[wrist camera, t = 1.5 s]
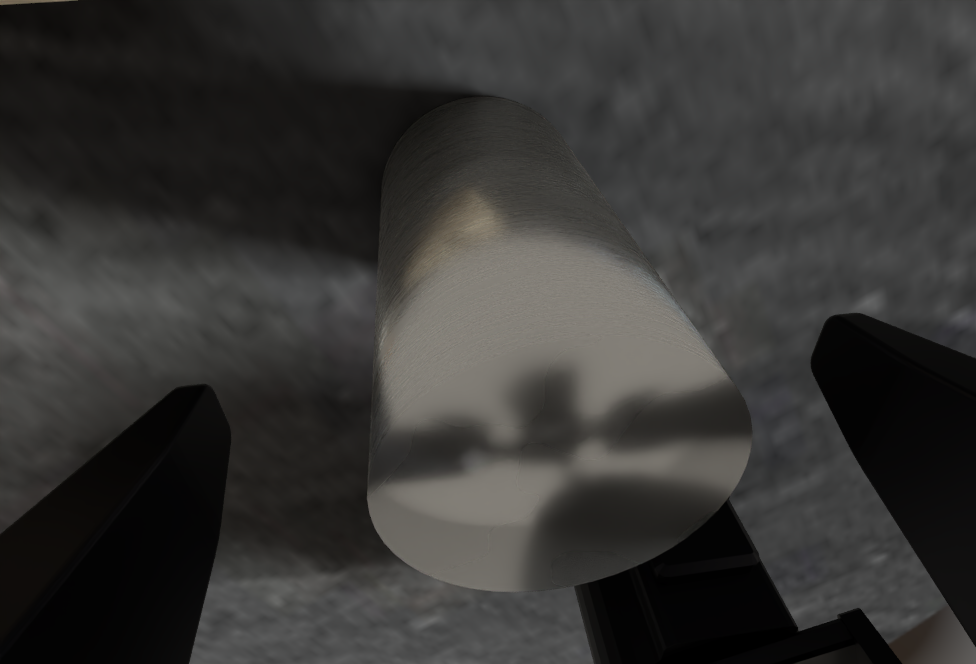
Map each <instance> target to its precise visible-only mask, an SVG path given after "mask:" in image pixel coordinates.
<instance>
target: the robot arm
mask: <svg viewBox="0 0 976 664" xmlns="http://www.w3.org/2000/svg"><path fill="white" fill-rule="evenodd" d="M811 369H812V373H813V375H814V377H815V379H816V381H817V383H818V385H819V387H820V389H821V391H822V393H823V395H824V397H825V399H826V401H827V403H828V405H829V407H830V409H831V411H832V413H833V415H834V417H835V419H836V421H837V423H838V425H839V427H840V429H841V431H842V433H843V435H844V437H845V439H846V441H847V443H848V445H849V447H850V449H851V451H852V453H853V454H854V456H855V458H856V460H857V461H858V463H859V465H860V466H861V468H862V470H863V471H864V473H865V475H866V476H867V478H868V479H869V481H870V482H871V484H872V486H873V487H874V489H875V490H876V492H877V493H878V495H879V496H880V498H881V500H882V501H883V503H884V504H885V506H886V507H887V509H888V511H889V512H890V514H891V515H892V517H893V518H894V520H895V522H896V523H897V525H898V526H899V528H900V529H901V531H902V532H903V534H904V536H905V537H906V539H907V540H908V542H909V543H910V545H911V547H912V548H913V550H914V551H915V553H916V554H917V556H918V558H919V559H920V561H921V562H922V564H923V565H924V567H925V568H926V570H927V572H928V573H929V575H930V576H931V578H932V579H933V581H934V583H935V584H936V586H937V587H938V589H939V590H940V592H941V594H942V595H943V597H944V598H945V600H946V601H947V603H948V604H949V606H950V607H951V609H952V611H953V612H954V614H955V615H956V617H957V619H958V620H959V622H960V623H961V625H962V626H963V628H964V630H965V631H966V633H967V634H968V636H969V637H970V639H971V640H972V642H973V644H974V645H975V647H976V358H973V357H971V356H968V355H966V354H963V353H961V352H958V351H956V350H953V349H950V348H948V347H945V346H943V345H940V344H938V343H935V342H933V341H930V340H928V339H925V338H923V337H920V336H917V335H915V334H912V333H910V332H907V331H905V330H902V329H900V328H897V327H895V326H892V325H890V324H887V323H884V322H882V321H879V320H877V319H874V318H872V317H869V316H867V315H864V314H861V313H849V314H839V315H834V316H831V317H829V318H828V319H827V320H826V322H825V323H824V326H823V328H822V331H821V333H820V336H819V338H818V341H817V343H816V346H815V348H814V351H813V354H812V356H811ZM230 445H231V431H230V426H229V423H228V421H227V419H226V416H225V414H224V412H223V410H222V408H221V405H220V403H219V401H218V399H217V396H216V394H215V392H214V390H213V389H212V388H211V386H209V385H207V384H197V385H188V386H181V387H177V388H175V389H174V390H172V391H171V392H170V393H169V394H168V395H166V396H165V397H164V398H163V399H162V400H160V401H159V402H158V403H157V404H156V405H154V406H153V407H152V408H151V409H150V410H148V411H147V412H146V413H145V414H144V415H142V416H141V417H140V418H139V419H138V420H136V421H135V422H134V423H133V424H132V425H130V426H129V427H128V428H127V429H126V430H124V431H123V432H122V433H121V434H120V435H118V436H117V437H116V438H115V439H114V440H113V441H111V442H110V443H109V444H108V445H107V446H105V447H104V448H103V449H102V450H101V451H99V452H98V453H97V454H96V455H95V456H93V457H92V458H91V459H90V460H89V461H87V462H86V463H85V464H84V465H83V466H81V467H80V468H79V469H78V470H77V471H75V472H74V473H73V474H72V475H71V476H69V477H68V478H67V479H66V480H65V481H63V482H62V483H61V484H60V485H59V486H58V487H56V488H55V489H54V490H53V491H52V492H50V493H49V494H48V495H47V496H46V497H44V498H43V499H42V500H41V501H40V502H38V503H37V504H36V505H35V506H34V507H32V508H31V509H30V510H29V511H28V512H26V513H25V514H24V515H23V516H22V517H20V518H19V519H18V520H17V521H16V522H14V523H13V524H12V525H11V526H10V527H8V528H7V529H6V530H5V531H4V532H2V533H1V534H0V664H189V662H190V657H191V653H192V649H193V645H194V641H195V637H196V633H197V629H198V625H199V621H200V617H201V612H202V608H203V604H204V600H205V596H206V592H207V588H208V584H209V580H210V576H211V571H212V567H213V563H214V559H215V555H216V550H217V545H218V541H219V534H220V528H221V520H222V512H223V504H224V495H225V487H226V479H227V470H228V462H229V454H230ZM729 497H730V496H729ZM729 497H728V499H727V500H726V501H725V502H724V504H723V505H722V506H721V507H720V508H719V510H718V511H717V512H716V513H715V514H714V515H713V516H712V517H711V518H710V519H709V520H708V521H707V522H706V523H704V524H703V525H702V526H701V527H700V528H698V529H697V530H696V531H695V532H693V533H692V534H691V535H690V536H688V537H687V538H685V539H684V540H682V541H681V542H680V543H678V544H677V545H675V546H674V547H672V548H670V549H669V550H667V551H665V552H663V553H662V554H660V555H658V556H656V557H655V558H652V559H650V560H648V561H646V562H644V563H642V564H640V565H638V566H636V567H633V568H631V569H628V570H626V571H623V572H620V573H618V574H615V575H612V576H609V577H606V578H603V579H599V580H596V581H592V582H588V583H584V584H580V585H576V586H574V588H575V592H576V596H577V600H578V603H579V607H580V611H581V615H582V619H583V623H584V627H585V630H586V634H587V638H588V642H589V646H590V650H591V654H592V657H593V661H594V664H902V663H901V662H900V660H899V659H898V658H897V656H896V655H895V654H894V652H893V651H892V650H891V649H890V647H889V646H888V644H887V643H886V642H885V640H884V639H883V638H882V637H881V635H880V634H879V633H878V631H877V630H876V629H875V627H874V626H873V625H872V623H871V622H870V621H869V619H868V618H867V617H866V615H865V614H864V613H863V612H862V610H861V609H860V608H856V609H853V610H850V611H847V612H844V613H841V614H838V615H837V616H838V619H836V620H833V621H830V622H827V623H824V624H821V625H818V626H814V627H811V628H808V629H805V630H802V631H798V627H797V625H796V623H795V621H794V619H793V618H792V616H791V614H790V612H789V610H788V608H787V607H786V605H785V603H784V601H783V599H782V598H781V596H780V594H779V592H778V590H777V589H776V587H775V585H774V583H773V581H772V579H771V578H770V576H769V574H768V572H767V570H766V569H765V567H764V565H763V563H762V561H761V559H760V557H759V553H758V551H757V550H756V548H755V546H754V544H753V542H752V540H751V539H750V537H749V535H748V533H747V531H746V530H745V528H744V526H743V524H742V522H741V521H740V519H739V517H738V515H737V513H736V512H735V510H734V508H733V506H732V504H731V503H730V501H729Z"/></svg>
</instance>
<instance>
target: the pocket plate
mask: <svg viewBox="0 0 976 664" xmlns="http://www.w3.org/2000/svg"><path fill="white" fill-rule="evenodd" d="M58 1H76V0H0V5H6V4H23V3H41V2H58Z"/></svg>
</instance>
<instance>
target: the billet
mask: <svg viewBox="0 0 976 664" xmlns="http://www.w3.org/2000/svg"><path fill="white" fill-rule="evenodd" d="M751 444H752V425H751V417H750V414H749V411H748V408H747V405H746V402H745V400H744V398H743V397H742V395H741V394H740V392H739V390H738V389H737V387H736V386H735V384H734V383H733V381H732V380H731V378H730V377H729V376H728V374H727V373H726V371H725V370H724V368H723V367H722V365H721V364H720V363H719V361H718V360H717V358H716V357H715V355H714V354H713V353H712V351H711V350H710V348H709V347H708V345H707V344H706V343H705V341H704V340H703V338H702V337H701V335H700V334H699V333H698V331H697V330H696V328H695V327H694V325H693V324H692V322H691V321H690V320H689V318H688V317H687V315H686V314H685V312H684V311H683V310H682V308H681V307H680V305H679V304H678V302H677V301H676V300H675V298H674V297H673V295H672V294H671V292H670V291H669V289H668V288H667V287H666V285H665V284H664V282H663V281H662V279H661V278H660V277H659V275H658V274H657V272H656V271H655V269H654V268H653V267H652V265H651V264H650V262H649V261H648V259H647V258H646V257H645V255H644V254H643V252H642V251H641V249H640V248H639V246H638V245H637V244H636V242H635V241H634V239H633V238H632V236H631V235H630V234H629V232H628V231H627V229H626V228H625V226H624V225H623V224H622V222H621V221H620V219H619V218H618V216H617V215H616V214H615V212H614V211H613V209H612V208H611V206H610V205H609V203H608V202H607V201H606V199H605V198H604V196H603V195H602V193H601V192H600V191H599V189H598V188H597V186H596V185H595V183H594V182H593V181H592V179H591V178H590V176H589V175H588V173H587V172H586V171H585V169H584V168H583V166H582V165H581V163H580V162H579V160H578V159H577V158H576V156H575V155H574V153H573V152H572V150H571V149H570V148H569V146H568V145H567V143H566V142H565V140H564V139H563V138H562V136H561V135H560V133H559V132H558V131H557V130H556V129H555V127H554V126H553V125H552V124H551V123H550V122H549V121H548V120H546V119H545V118H544V117H543V116H542V115H541V114H539V113H537V112H536V111H534V110H533V109H531V108H529V107H527V106H525V105H522V104H520V103H518V102H515V101H511V100H508V99H504V98H497V97H470V98H463V99H459V100H455V101H452V102H448V103H446V104H444V105H441V106H439V107H437V108H435V109H433V110H431V111H430V112H428V113H427V114H425V115H423V116H422V117H421V118H419V119H418V120H417V121H416V122H415V123H413V124H412V125H411V126H410V127H409V128H408V129H407V131H406V132H405V133H404V134H403V135H402V136H401V138H400V139H399V141H398V142H397V143H396V145H395V146H394V148H393V150H392V152H391V154H390V156H389V158H388V161H387V164H386V167H385V170H384V174H383V179H382V189H381V210H380V232H379V253H378V274H377V296H376V317H375V339H374V360H373V382H372V403H371V425H370V446H369V468H368V489H367V501H368V507H369V514H370V517H371V519H372V522H373V525H374V527H375V530H376V531H377V533H378V534H379V536H380V537H381V539H382V540H383V542H384V543H385V544H386V545H387V546H388V548H389V549H390V550H391V551H392V552H393V553H394V554H395V555H396V556H398V557H399V558H400V559H401V560H403V561H404V562H405V563H407V564H408V565H410V566H411V567H413V568H415V569H417V570H418V571H420V572H422V573H424V574H426V575H428V576H431V577H433V578H436V579H438V580H441V581H444V582H447V583H451V584H454V585H457V586H462V587H467V588H472V589H478V590H487V591H497V592H530V591H543V590H552V589H559V588H565V587H570V586H576V585H580V584H584V583H588V582H592V581H596V580H599V579H603V578H606V577H609V576H612V575H615V574H618V573H620V572H623V571H626V570H628V569H631V568H633V567H636V566H638V565H640V564H642V563H644V562H646V561H648V560H650V559H652V558H655V557H656V556H658V555H660V554H662V553H663V552H665V551H667V550H669V549H670V548H672V547H674V546H675V545H677V544H678V543H680V542H681V541H682V540H684V539H685V538H687V537H688V536H690V535H691V534H692V533H693V532H695V531H696V530H697V529H698V528H700V527H701V526H702V525H703V524H704V523H706V522H707V521H708V520H709V519H710V518H711V517H712V516H713V515H714V514H715V513H716V512H717V511H718V510H719V508H720V507H721V506H722V505H723V504H724V502H725V501H726V500H727V499H728V497H729V496H730V495H731V493H732V492H733V490H734V489H735V487H736V485H737V484H738V482H739V481H740V479H741V476H742V474H743V472H744V470H745V468H746V465H747V462H748V458H749V455H750V451H751Z"/></svg>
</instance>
